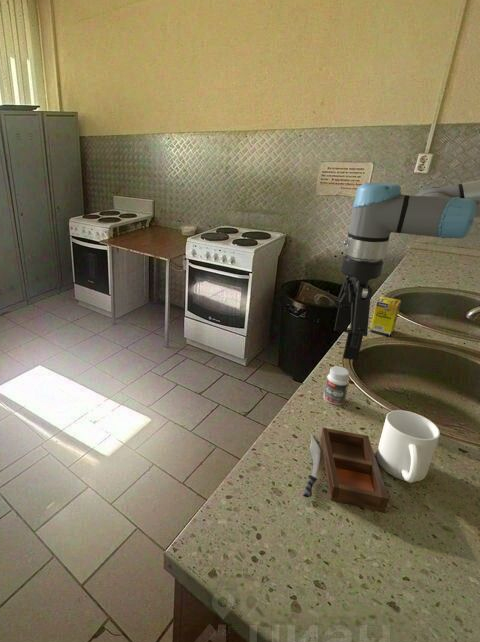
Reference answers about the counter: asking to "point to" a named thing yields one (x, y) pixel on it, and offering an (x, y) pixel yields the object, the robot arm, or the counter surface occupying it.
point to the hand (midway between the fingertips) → (344, 344)
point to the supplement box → (385, 315)
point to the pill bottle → (336, 385)
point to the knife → (316, 459)
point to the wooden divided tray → (352, 470)
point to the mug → (407, 445)
